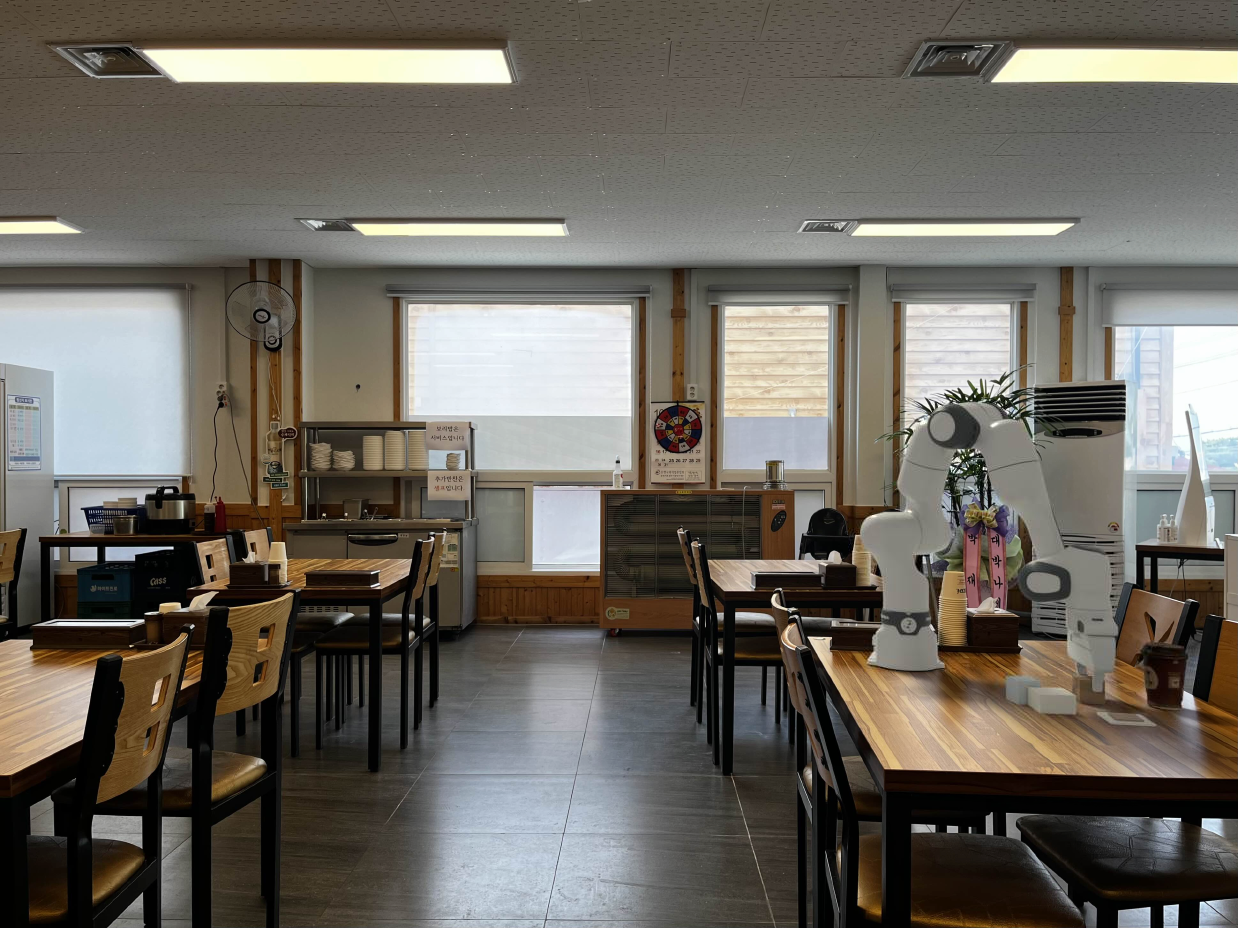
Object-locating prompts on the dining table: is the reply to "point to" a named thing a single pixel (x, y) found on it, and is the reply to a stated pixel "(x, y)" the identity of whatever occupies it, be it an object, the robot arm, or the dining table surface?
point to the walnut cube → (1086, 690)
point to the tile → (1126, 719)
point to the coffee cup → (1164, 674)
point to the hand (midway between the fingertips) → (1089, 686)
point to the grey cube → (1020, 688)
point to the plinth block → (1051, 700)
